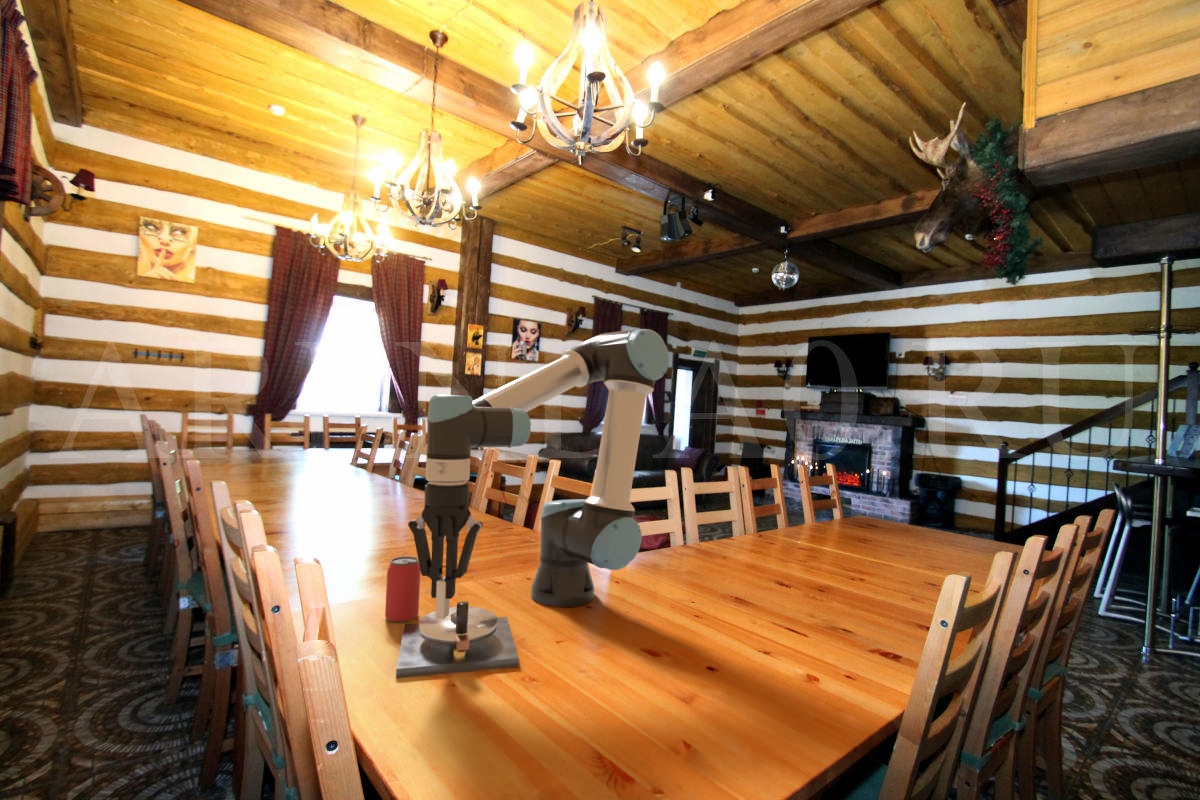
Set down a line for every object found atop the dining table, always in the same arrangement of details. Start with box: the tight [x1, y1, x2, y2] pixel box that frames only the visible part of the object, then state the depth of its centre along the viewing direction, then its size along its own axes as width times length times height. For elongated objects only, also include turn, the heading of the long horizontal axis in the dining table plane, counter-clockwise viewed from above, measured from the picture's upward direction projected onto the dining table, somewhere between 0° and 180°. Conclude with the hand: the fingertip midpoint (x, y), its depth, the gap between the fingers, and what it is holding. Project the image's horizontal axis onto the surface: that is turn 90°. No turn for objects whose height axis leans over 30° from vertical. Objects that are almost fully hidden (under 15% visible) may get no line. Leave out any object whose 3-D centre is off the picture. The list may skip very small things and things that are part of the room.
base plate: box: [395, 616, 520, 679], centre depth 100 cm, size 20×19×4 cm
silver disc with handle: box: [418, 601, 498, 650], centre depth 99 cm, size 16×14×6 cm
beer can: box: [384, 556, 421, 623], centre depth 114 cm, size 7×7×12 cm
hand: (442, 616), depth 95 cm, fingers closed
